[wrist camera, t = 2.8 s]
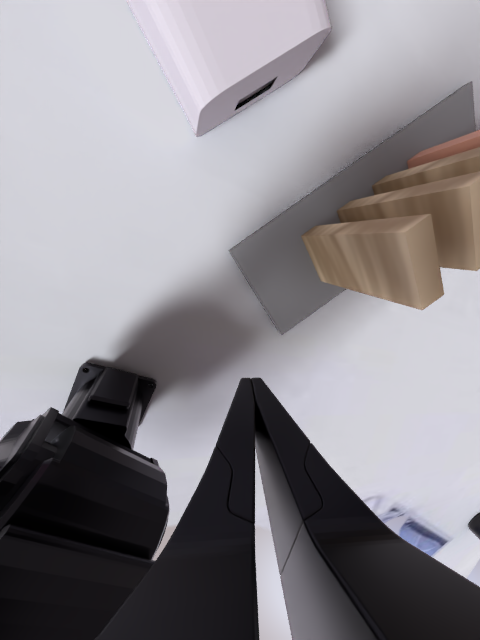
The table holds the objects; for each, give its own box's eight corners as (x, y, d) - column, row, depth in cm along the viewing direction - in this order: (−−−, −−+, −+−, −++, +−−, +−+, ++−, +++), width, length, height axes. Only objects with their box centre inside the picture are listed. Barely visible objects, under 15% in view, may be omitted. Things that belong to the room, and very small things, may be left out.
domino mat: (279, 333, 23) (281, 335, 23) (228, 250, 19) (230, 250, 19) (472, 194, 24) (479, 193, 23) (464, 85, 20) (472, 81, 19)
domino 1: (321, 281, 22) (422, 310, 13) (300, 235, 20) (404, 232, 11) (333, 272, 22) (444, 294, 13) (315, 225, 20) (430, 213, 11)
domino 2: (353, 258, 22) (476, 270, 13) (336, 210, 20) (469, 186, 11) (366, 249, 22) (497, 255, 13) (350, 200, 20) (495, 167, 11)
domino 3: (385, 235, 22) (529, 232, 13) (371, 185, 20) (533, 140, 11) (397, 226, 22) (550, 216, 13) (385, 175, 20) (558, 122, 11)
